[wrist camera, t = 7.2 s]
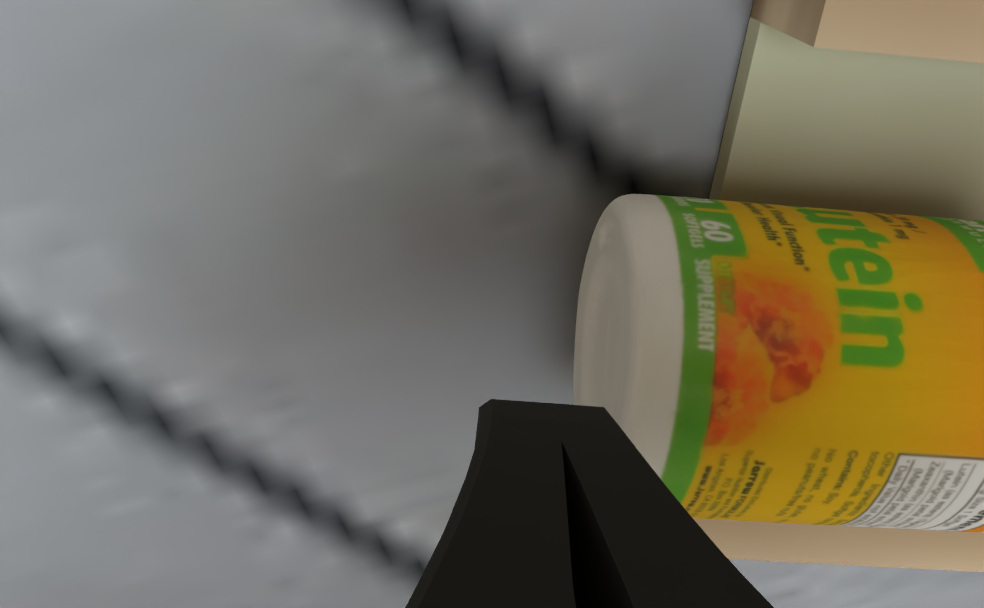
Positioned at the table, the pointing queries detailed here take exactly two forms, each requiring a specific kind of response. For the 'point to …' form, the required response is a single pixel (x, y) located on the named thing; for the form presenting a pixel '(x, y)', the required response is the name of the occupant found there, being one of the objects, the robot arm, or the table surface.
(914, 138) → the u rest
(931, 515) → the supplement bottle
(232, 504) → the table surface
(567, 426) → the robot arm
